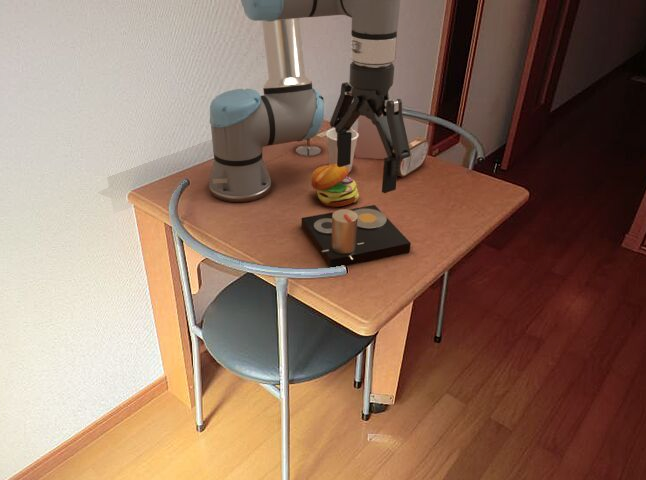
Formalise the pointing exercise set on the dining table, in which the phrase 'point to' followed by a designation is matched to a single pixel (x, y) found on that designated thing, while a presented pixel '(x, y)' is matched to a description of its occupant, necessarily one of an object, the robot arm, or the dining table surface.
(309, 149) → the wine glass
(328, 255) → the stove
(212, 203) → the dining table surface
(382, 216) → the burners
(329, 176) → the cheeseburger
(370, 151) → the greeting card
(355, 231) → the stove knob
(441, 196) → the dining table surface
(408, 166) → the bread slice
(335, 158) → the dixie cup
